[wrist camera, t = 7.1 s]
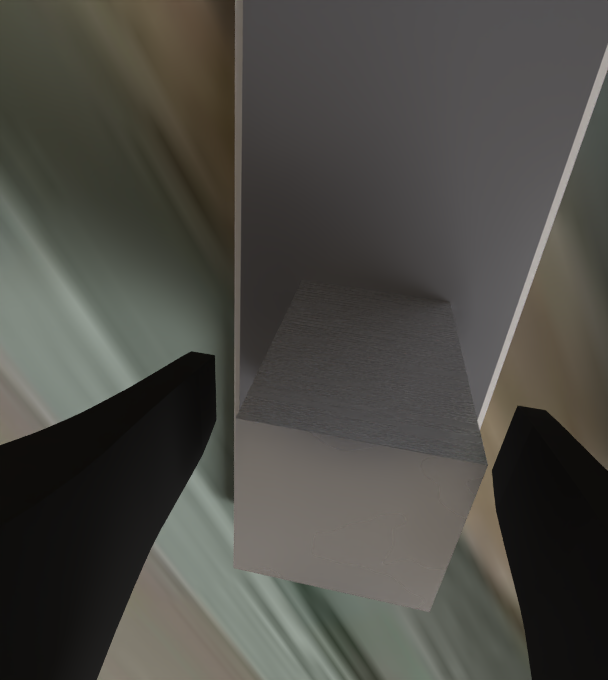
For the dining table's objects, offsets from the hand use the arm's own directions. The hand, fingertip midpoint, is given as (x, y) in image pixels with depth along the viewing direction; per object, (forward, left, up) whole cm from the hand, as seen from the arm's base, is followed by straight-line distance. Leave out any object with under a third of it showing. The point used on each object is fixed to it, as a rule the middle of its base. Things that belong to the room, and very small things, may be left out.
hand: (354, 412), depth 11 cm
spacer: (0, 0, -3) cm, 3 cm away
